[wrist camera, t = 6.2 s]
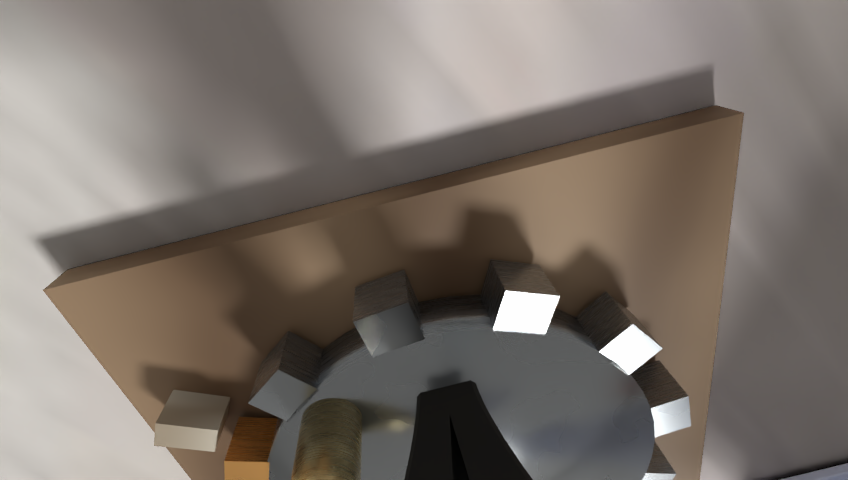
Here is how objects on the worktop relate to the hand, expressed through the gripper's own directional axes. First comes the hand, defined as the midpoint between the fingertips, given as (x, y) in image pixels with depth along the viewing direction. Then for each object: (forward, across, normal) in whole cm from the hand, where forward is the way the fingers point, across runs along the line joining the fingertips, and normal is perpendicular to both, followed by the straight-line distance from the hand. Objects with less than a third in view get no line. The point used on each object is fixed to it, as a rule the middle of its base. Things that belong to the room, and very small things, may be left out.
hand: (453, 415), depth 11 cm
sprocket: (+3, 0, +4) cm, 5 cm away
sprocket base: (+4, 0, +4) cm, 6 cm away
